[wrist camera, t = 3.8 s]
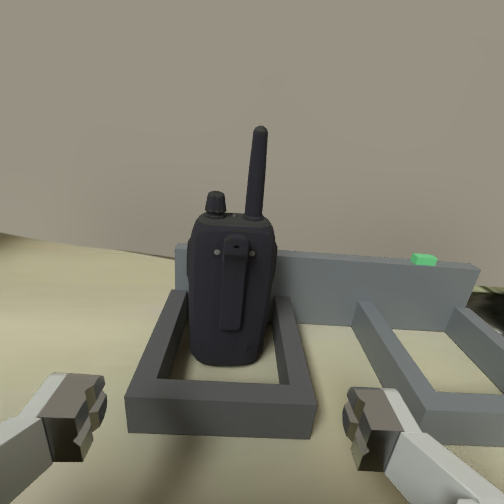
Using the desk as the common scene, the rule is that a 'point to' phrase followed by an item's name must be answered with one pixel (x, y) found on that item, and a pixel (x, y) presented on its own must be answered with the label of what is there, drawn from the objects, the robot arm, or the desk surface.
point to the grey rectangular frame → (221, 387)
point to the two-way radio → (232, 272)
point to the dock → (397, 317)
